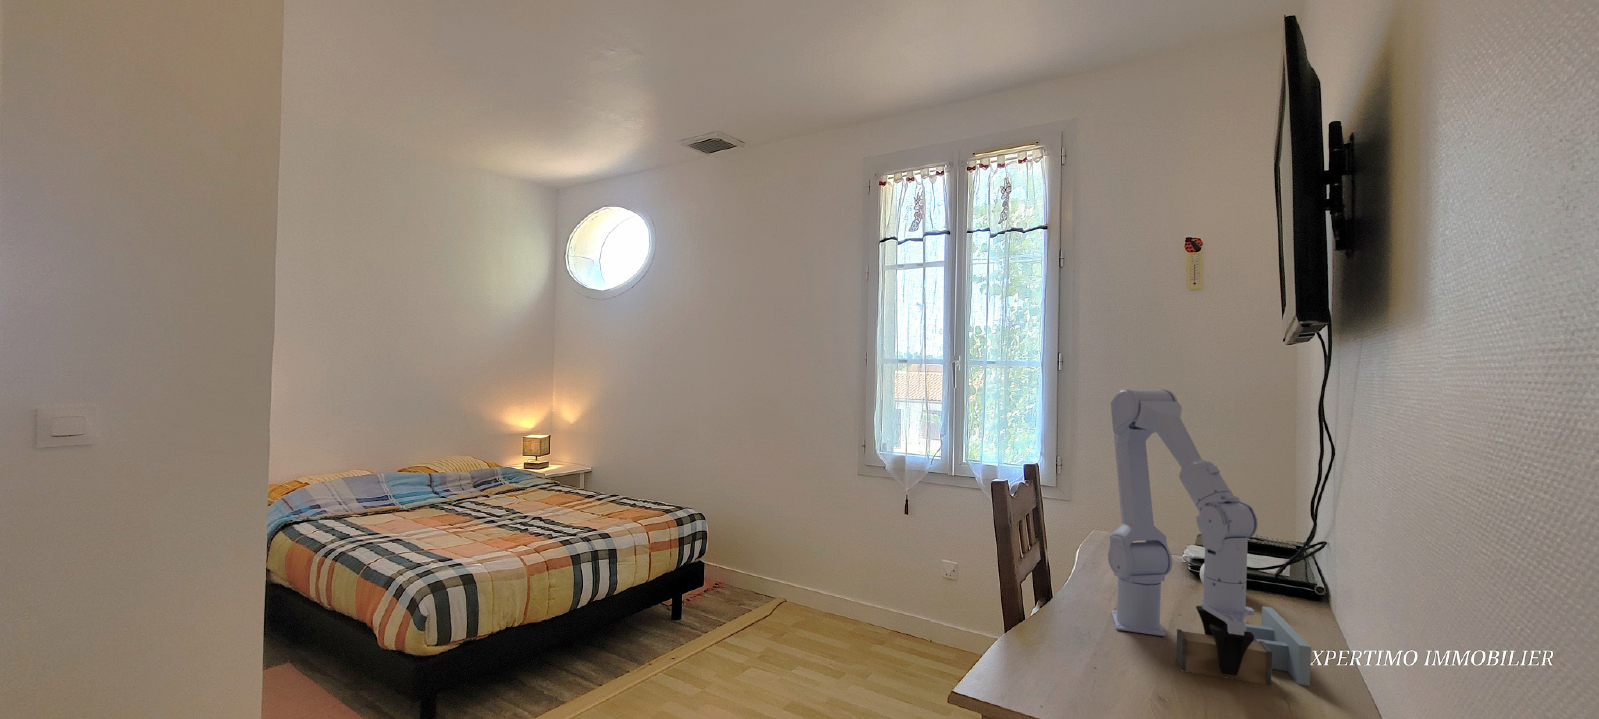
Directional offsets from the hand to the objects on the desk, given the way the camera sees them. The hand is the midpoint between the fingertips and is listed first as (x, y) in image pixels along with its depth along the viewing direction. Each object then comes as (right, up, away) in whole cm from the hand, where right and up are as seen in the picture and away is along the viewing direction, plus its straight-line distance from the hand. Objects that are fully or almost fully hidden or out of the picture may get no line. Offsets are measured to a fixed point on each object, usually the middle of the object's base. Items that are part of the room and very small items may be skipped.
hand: (1222, 663), depth 108 cm
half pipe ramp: (0, -1, 0) cm, 1 cm away
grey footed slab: (+11, -2, +6) cm, 13 cm away
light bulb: (+15, -2, +26) cm, 30 cm away
